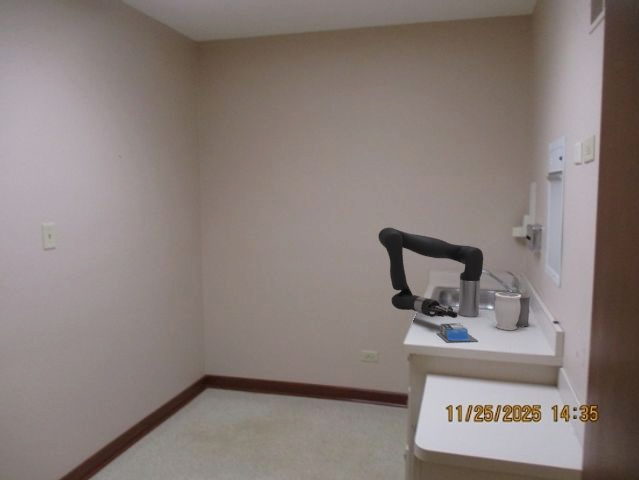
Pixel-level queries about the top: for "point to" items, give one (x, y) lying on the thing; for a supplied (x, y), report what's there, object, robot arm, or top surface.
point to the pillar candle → (523, 309)
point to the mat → (456, 341)
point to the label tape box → (455, 332)
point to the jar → (507, 310)
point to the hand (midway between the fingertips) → (456, 315)
